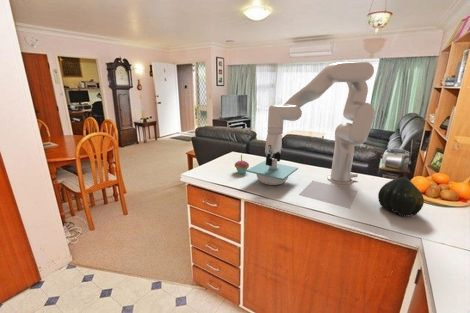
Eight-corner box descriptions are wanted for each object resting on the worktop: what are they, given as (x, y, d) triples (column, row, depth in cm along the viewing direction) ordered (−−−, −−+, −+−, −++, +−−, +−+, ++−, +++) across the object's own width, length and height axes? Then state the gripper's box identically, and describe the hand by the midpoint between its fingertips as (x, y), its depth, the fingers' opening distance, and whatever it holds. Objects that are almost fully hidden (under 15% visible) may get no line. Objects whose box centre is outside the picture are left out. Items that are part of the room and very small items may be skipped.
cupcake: (247, 175, 134) (248, 155, 130) (233, 174, 135) (233, 154, 132) (249, 170, 142) (250, 151, 138) (235, 169, 143) (236, 150, 140)
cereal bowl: (249, 181, 125) (249, 169, 123) (269, 175, 135) (270, 163, 133) (274, 192, 113) (275, 178, 111) (294, 183, 123) (295, 171, 121)
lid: (264, 162, 135) (264, 152, 134) (297, 169, 125) (298, 158, 123) (246, 171, 119) (246, 160, 118) (283, 180, 109) (284, 168, 107)
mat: (312, 181, 127) (312, 180, 126) (357, 191, 115) (357, 190, 115) (298, 195, 109) (298, 194, 109) (349, 209, 97) (349, 208, 97)
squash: (395, 209, 86) (423, 179, 86) (365, 194, 100) (388, 167, 100) (413, 229, 91) (439, 200, 91) (382, 211, 105) (404, 186, 105)
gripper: (275, 127, 125) (273, 158, 130) (260, 131, 112) (258, 165, 116) (288, 129, 121) (286, 160, 126) (274, 133, 107) (272, 168, 112)
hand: (273, 163), depth 121 cm, fingers open, 9 cm apart
